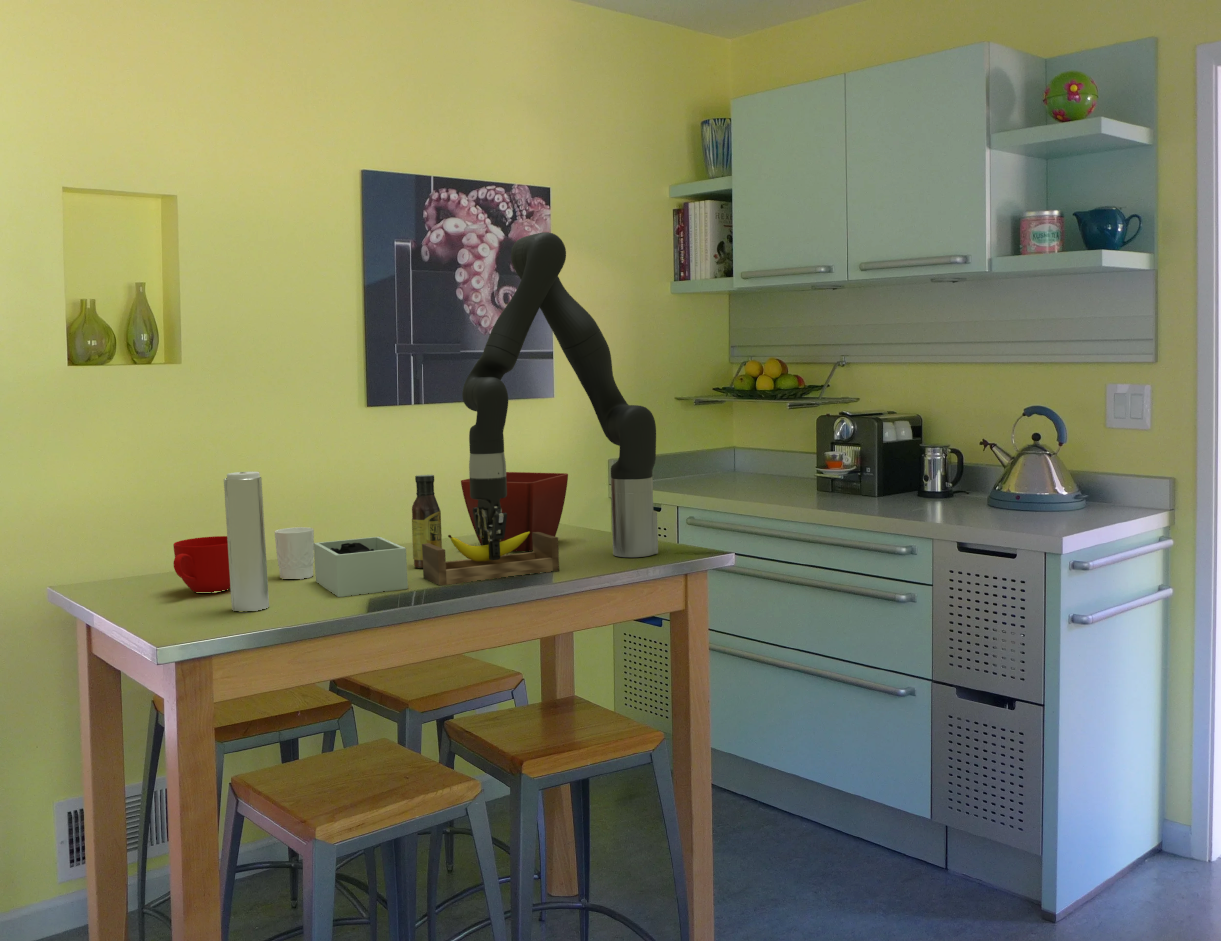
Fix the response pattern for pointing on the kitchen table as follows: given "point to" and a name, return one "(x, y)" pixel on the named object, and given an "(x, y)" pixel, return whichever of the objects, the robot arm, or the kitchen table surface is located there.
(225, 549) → the ceramic cup
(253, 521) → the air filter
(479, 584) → the kitchen table surface
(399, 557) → the camera caddy
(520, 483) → the plant pot
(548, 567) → the cradle
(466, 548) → the banana
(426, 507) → the sauce bottle
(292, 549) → the white cup
